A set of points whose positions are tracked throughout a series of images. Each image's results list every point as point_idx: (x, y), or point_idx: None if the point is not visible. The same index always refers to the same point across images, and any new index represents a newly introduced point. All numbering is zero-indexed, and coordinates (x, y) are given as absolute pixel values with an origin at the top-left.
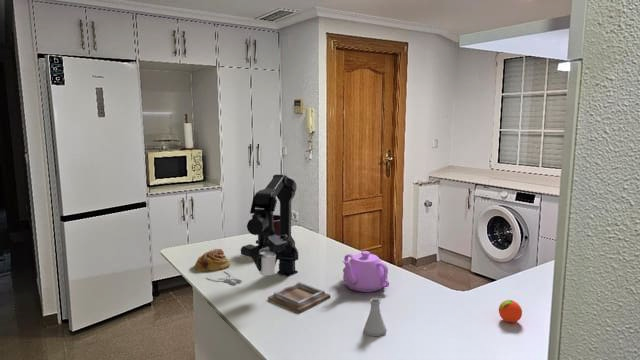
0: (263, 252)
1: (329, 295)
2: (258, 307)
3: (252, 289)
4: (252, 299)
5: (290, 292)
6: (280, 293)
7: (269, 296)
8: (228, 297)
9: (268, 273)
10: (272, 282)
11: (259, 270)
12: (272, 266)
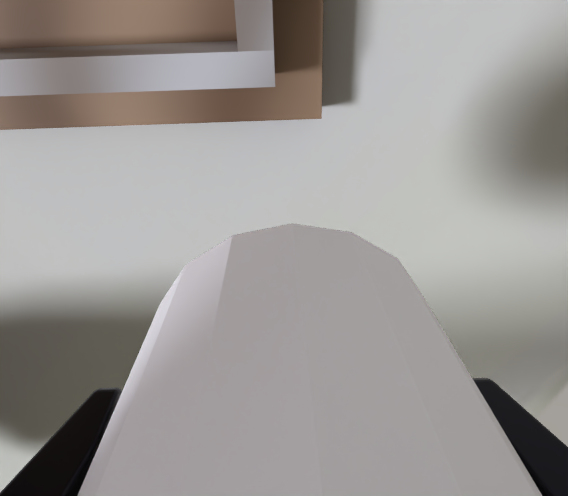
0: None
1: None
2: (506, 40)
3: None
4: (401, 218)
5: (51, 13)
6: (194, 48)
7: (306, 113)
8: (478, 354)
9: (372, 259)
10: (66, 345)
11: (494, 400)
12: (297, 331)
